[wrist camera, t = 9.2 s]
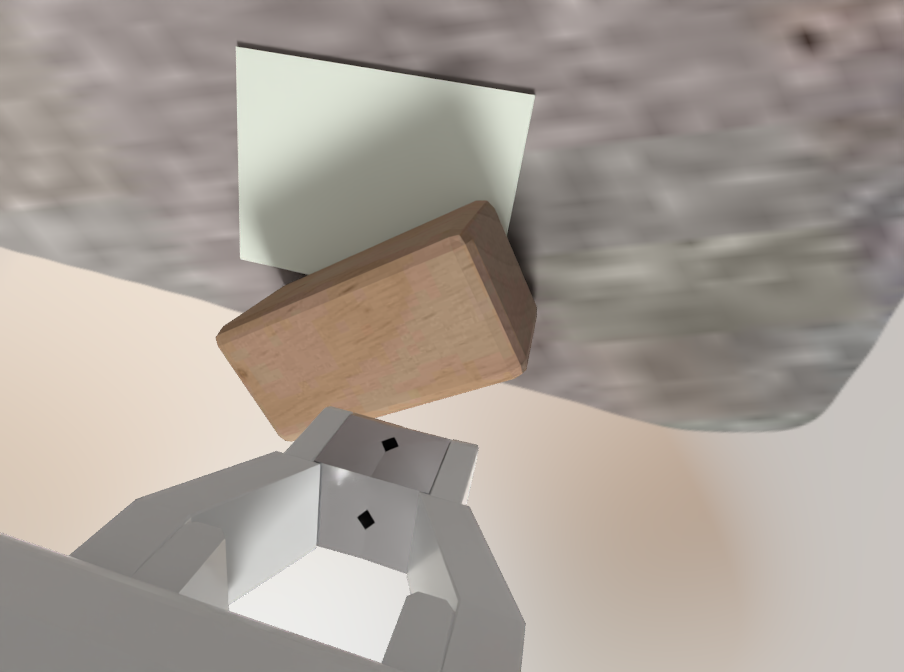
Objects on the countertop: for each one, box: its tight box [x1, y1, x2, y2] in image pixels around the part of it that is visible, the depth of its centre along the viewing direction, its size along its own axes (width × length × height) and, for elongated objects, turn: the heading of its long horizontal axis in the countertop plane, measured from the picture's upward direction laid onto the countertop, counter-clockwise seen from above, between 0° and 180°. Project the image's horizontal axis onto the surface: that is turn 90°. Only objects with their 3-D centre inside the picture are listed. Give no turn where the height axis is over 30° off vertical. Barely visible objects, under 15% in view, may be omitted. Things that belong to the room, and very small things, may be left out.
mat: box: [236, 47, 535, 275], centre depth 38 cm, size 22×16×1 cm
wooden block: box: [216, 200, 537, 441], centre depth 36 cm, size 10×10×20 cm
